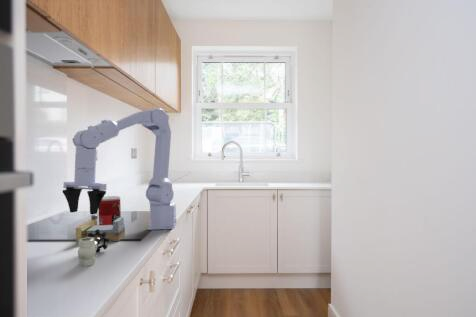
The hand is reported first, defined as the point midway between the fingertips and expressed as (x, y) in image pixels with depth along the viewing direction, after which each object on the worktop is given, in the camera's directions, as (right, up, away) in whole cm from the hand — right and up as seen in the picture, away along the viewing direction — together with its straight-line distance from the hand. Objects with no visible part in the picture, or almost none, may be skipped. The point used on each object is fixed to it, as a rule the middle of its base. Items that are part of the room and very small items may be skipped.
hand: (83, 212), depth 93 cm
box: (+4, -10, +7) cm, 13 cm away
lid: (+4, -7, +7) cm, 11 cm away
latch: (-2, -8, +8) cm, 12 cm away
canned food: (-2, -10, +24) cm, 26 cm away
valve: (+8, -11, -11) cm, 17 cm away
